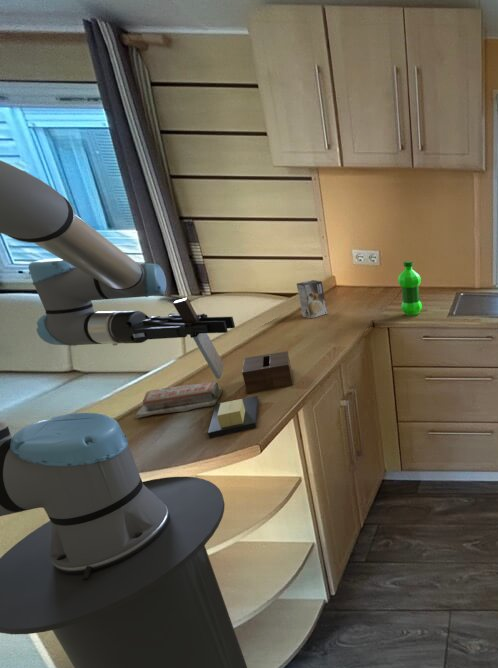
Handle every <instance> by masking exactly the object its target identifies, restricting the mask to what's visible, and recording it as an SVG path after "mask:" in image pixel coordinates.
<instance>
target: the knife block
mask: <svg viewBox="0 0 498 668" xmlns="http://www.w3.org/2000/svg"><path fill="white" fill-rule="evenodd" d="M241 374H242V378H243V383H244V386H245V389H246V393H247V394H253V393H258V392H263V391H269V390H274V389H279V388H284V387H285V388H286V387H289V386H290V387H291V386H294V381H293V371H292V366H291V361H290V355H289V351H281V352H274V353H268V354H262V355H255V356H249V357H244V360H243V366H242V370H241Z"/></svg>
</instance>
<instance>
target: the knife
mask: <svg viewBox="0 0 498 668" xmlns="http://www.w3.org/2000/svg"><path fill="white" fill-rule="evenodd" d="M172 305H173V306H174V308H175V310H176V311H177V314H179V315H180V316H181V318H182V320H183V322H184V323H192V324H193V325H194V322H196V321H200V320H199V318H198V316H197V314H198V313H196V311H195V309H194V307H193V305H192V304H191V302H190V300H189V298H188V297H185V298H182V299H177V300H175V301H174V302H172ZM192 339H193V341H194V342H195V344H196V346H197V347H198V349H199V352H200V353H201V354H202V356H203V358H204V360H205V361H206V363H207V365H208V366H209V369H210V370H211V372H212V374H213V375H214V377H215V378H216V379H217V380H220V379H221V377H222V375H223V371H224V370H225V363H224V362H223V360H222V358H221V356H220V354H219V352H218V350H217V349H216V347H215V346H214V344H213V342H212V340H211V338H210V337H209V335H208V333H200V334H197V333H196V332H195V336H194V337H193V338H192Z"/></svg>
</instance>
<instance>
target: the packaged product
mask: <svg viewBox="0 0 498 668" xmlns="http://www.w3.org/2000/svg"><path fill="white" fill-rule="evenodd" d="M222 393H223V388H222V386H219V382H218V381H216V380H215V381H208V382H207V381H206V382H200V383H191V384H185V385H178V386H171V387H161V388H157V389H150V390H148V391H146V392H145V395H144V397H143V400H142V406H141V407H140V408H139V409H138V411H137V412H136V414H135V415H134V417H136V419H140V418H145V417H150V416H155V415H162V414H170V413H176V412H177V413H179V412H188V411H191V410H195V409H200V408H201V409H202V408H207V407H212V406H216V404H217V403H218V400H219V398H220V397H221V394H222Z"/></svg>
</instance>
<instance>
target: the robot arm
mask: <svg viewBox="0 0 498 668" xmlns="http://www.w3.org/2000/svg"><path fill="white" fill-rule="evenodd" d="M0 234H3V235H5V236H7V237H9V238H11V239H13V240H16V241H19V242H22V243H26V244H27V243H28V244H34V245H36V246H38V247H40V248H41V249H43V250H44V251H47V252H48V253H50V254H51V255H53V256H55V257H57V258H47V259H40V260H35V261H32V262H30V263H29V264H28V271H29V274H30V276H31V280H32V285H33V286H34V288H35V290H36V292H37V295H38V298H39V299H40V302H41V304H42V306H43V309H44V310H45V314H43V315H41V316H40V317H39V318H38V320H37V321H36V325H37V327H36V333H37V335H38V337H39V338H40V339H41V340H42V341H44V342H45V343H47V344H50V345H55V346H70V347H72V346H73V347H75V346H88V345H109V344H111V345H112V346H113V347H114V346H118V345H119V344H143V343H145V342H146V341H148V340H162V339H179V338H181V339H182V338H186V337H188V336H190V338H191V339H193V337H194V336H195V332H196V333H197V334H200V333H207V334H226V333H228V332H229V330H228V329H234V328H236V324H235V321H234V316H208V314H205V313H201V314H198V313H196V314H197V316H198V318H199V320H200V321H196V322H194V325H193V324H192V323H184V322H183V320H182V318H181V316H180V315H179V313H168V314H167V315H168V316H160V315H154V316H148V315H147V314H146V313H145V312H143V311H141V310H122V311H120V310H111V311H109V310H108V311H95V309H94V304H93V303H92V301H104V300H105V301H106V300H116V299H117V300H119V299H132V298H134V299H135V298H148V297H154V296H161V295H164V293H165V292H167V291H166V290H167V279H166V278H167V277H166V275H165V273H164V270H163V268H162V267H161V266H160V265H159V264H157V263H146V262H142V263H138V262H137V261H135V260H134V259H133V258H132V257H130V256H129V255H128V254H127V253H126V252H124V251H122V249H120V248H119V247H118V246H116V245H115V244H114V243H112V242H111V241H110V240H108V238H107V237H105V236H104V235H102V233H100V232H98V231H97V230H96V229H95V228H94V227H92V226H91V225H90V224H88V223H87V222H86V221H84V220H83V219H82V218H81V217H79V216H78V215H77V214H76V213H75V210H74V207H73V205H72V204H71V202H70V201H69V200H68V199H67V198H66V197H64V195H62V194H61V193H59V191H57V190H55V188H53V187H52V186H51V185H49V184H48V183H46V182H44V181H43V180H41V179H39V178H38V177H36V176H34V175H32V174H31V173H29V172H27V171H25V170H22V169H21V168H19V167H16V166H14V165H12V164H10V163H8V162H5V161H3V160H1V159H0ZM143 482H144V481H143V480H142V478H141V474H140V472H139V469H138V466H137V464H136V461H135V459H134V455H133V453H132V451H131V448H130V446H129V440H128V437H127V436H126V434H125V433H124V431H123V430H122V428H121V426H120V423H118V421H117V420H116V419H114V418H112V417H110V416H108V415H106V414H102V413H97V412H77V413H68V414H62V415H61V414H60V415H57V416H53V417H51V418H49V419H41V420H39V421H36V422H34V423H31V424H28V425H26V426H25V427H22V428H20V429H19V430H18V431H16V432H15V433H14V434H13V436H12V433H11V432H10V428H9V425H8V423H7V422H6V421H2V420H0V517H3V516H8V515H13V514H18V513H21V512H25V511H30V510H34V509H40V508H41V509H43V510H44V512H45V513H46V515H47V517H48V519H49V521H51V523H52V532H51V548H50V556H51V561H52V563H53V565H54V567H55V568H56V570H57V571H58V572H60V573H63V574H66V575H82V574H84V575H83V578H82V580H87V579H89V576H90V573H93V572H96V571H100V570H103V569H106V568H109V567H111V566H114V565H116V564H118V563H120V562H123V561H125V560H127V559H128V558H130V557H132V556H134V555H135V554H137V553H139V552H140V551H142V550H143V549H145V548H146V547H147V546H149V545H150V544H151V543H152V542H153V541H155V540H156V539H157V538H158V537H159V536H160V535H161V534H162V532H163V531H164V530H165V528H166V527H167V525H168V522H169V518H170V516H169V512H168V510H167V507H166V505H165V504H164V503H163V502H162V501H161V500H160V499H159V498H158V497H157V496H156V495H154V494H153V493H152V492H151V491H150V490H149V489H148V488H147V487H145V486H144V485H143Z"/></svg>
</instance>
